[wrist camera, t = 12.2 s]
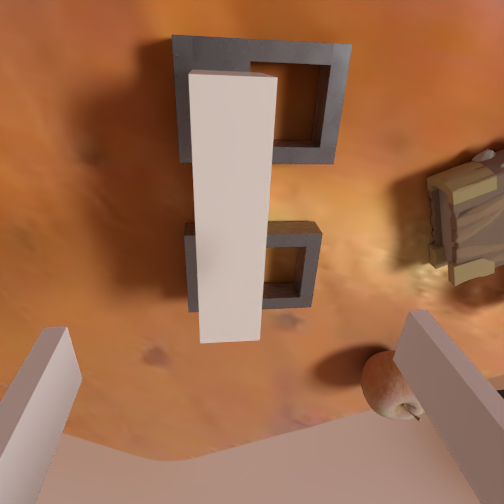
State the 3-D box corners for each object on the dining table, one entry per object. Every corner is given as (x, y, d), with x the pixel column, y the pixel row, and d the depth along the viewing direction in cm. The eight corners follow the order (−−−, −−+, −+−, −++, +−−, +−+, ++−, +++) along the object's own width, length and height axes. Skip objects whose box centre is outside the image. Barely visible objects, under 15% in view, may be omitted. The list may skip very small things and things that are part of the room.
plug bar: (193, 68, 24) (188, 73, 17) (256, 71, 25) (277, 77, 18) (201, 279, 33) (200, 343, 26) (247, 278, 34) (259, 340, 27)
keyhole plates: (174, 36, 24) (171, 34, 22) (339, 45, 25) (352, 44, 23) (189, 296, 34) (188, 312, 32) (304, 292, 36) (311, 307, 34)
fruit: (421, 343, 42) (464, 399, 35) (393, 384, 45) (428, 443, 38) (366, 335, 40) (400, 393, 33) (341, 378, 43) (367, 439, 36)
